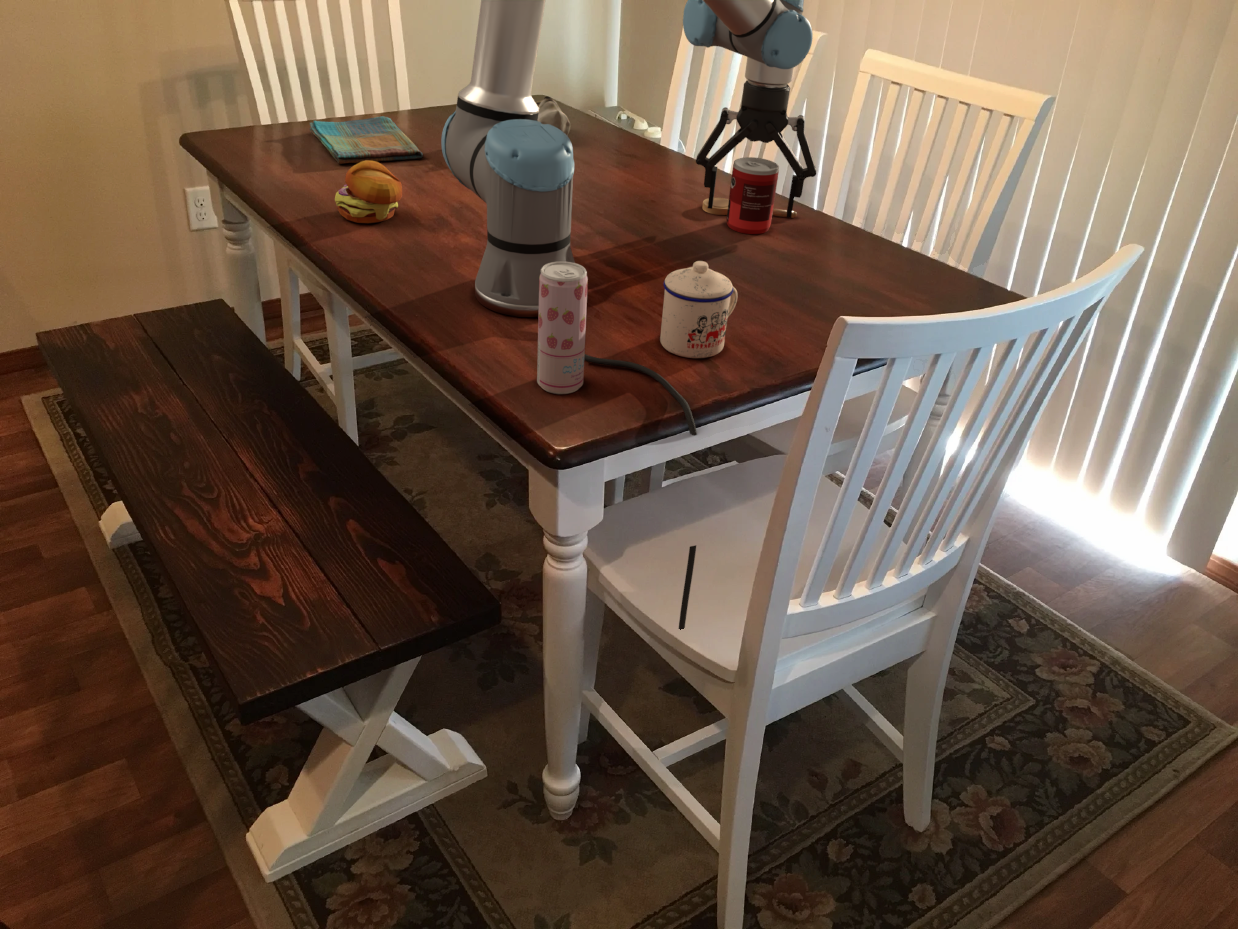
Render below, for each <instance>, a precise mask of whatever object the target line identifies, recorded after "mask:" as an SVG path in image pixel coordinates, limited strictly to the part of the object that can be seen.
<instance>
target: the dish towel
mask: <svg viewBox="0 0 1238 929" xmlns="http://www.w3.org/2000/svg"><path fill="white" fill-rule="evenodd" d="M309 126H310V127H309V131H310V133H311V134H312V135H313V136H314V137H316V138H317V139H318V141H319V142H320V143H321V144H322V145H323V147H325V148H326V150H327V151H328V152H329V153H330V155H331V156H332V157H333V159H334V160H335V161H336V162H337V164H338V165H343V164H358V163H360V162H362V161H365V160H369V161H376V162H387V161H388V162H389V161H401V160H402V161H405V160H416V159H417V160H419V159H422V158H423V156H424V155H423V152H422V151H421V150H420V148H418V147H417V145H416V144H415V143H414V142H413V141H412V140H411V139H410V138H409V136H407V135H406V134H405V133H404V132H403V131H402V130H401V128H399V126H397V124H396V123H395V122H394V121H393V120H392V118H390V117H388V116H384V115H383V116H376V117H375V116H374V117H369V118H363V119H355V120H354V119H352V120H346V121H338V122H337V121H321V120H318V121H317V120H313V122H309Z"/></svg>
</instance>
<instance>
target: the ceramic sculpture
mask: <svg viewBox="0 0 1238 929" xmlns="http://www.w3.org/2000/svg"><path fill="white" fill-rule="evenodd" d="M535 103H536V104H537V106H538V107H539V114H538V121H539V122H541V123H542V124H550V125H552V126H554V127H556V128H558V129H560V130H561V131H563V132H564V133H565V134H566V135H567V136H568V137H569V133H570V130H571V122H570V120H569V118H568V116H567V115H566V114H565V113H564V112H563V111H562V109H561V107H560V106H559V104H558V103H557V101H556V100H554V99H553V98H552V97H551V96H549V95H547V96H545V97H544V98H543V99H542V100H537V101H535Z"/></svg>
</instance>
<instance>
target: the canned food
mask: <svg viewBox="0 0 1238 929" xmlns="http://www.w3.org/2000/svg"><path fill="white" fill-rule="evenodd" d="M779 171H780V166H779V165H778V163H776V162H775V161H772V160H769V159H766V158H762V157H753V156H752V157H750V156H745V157H739V158H736V159H735V160H734V161H733V163H732V171H731V177H730V178H731V179H730V186H729V195H728V200H729V203H728V211H727V215H726V225H727V227H728V228H729V229H731V230H732V231H734V232H737V233H740V234H745V235H746V234H747V235H761V234H765V233H767V232H768V231H769V229H770V227H771V225H772V217H773V216H772V213H773V209H774V207H775V206H774V205H775V201H776V200H775V198H776V193H777V185H778V179H779Z"/></svg>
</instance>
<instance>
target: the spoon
mask: <svg viewBox="0 0 1238 929" xmlns="http://www.w3.org/2000/svg"><path fill="white" fill-rule="evenodd" d="M708 202H709V197H708V198H705V199H704V200H703V201H702V208H701V209H702V210H703V211H704V212H706V213H708V214H710V215H714V216H715V215H716V216H727V211H728V203H729V198H724V197H714V200H713V206H712V209H710V208H708ZM797 215H798V214H797V211H796V210H792V215H791V218H792V219H794V218H796V217H797ZM772 217H781V218H788V217H787V209H779V208H773V213H772ZM791 218H790V219H791Z"/></svg>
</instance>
